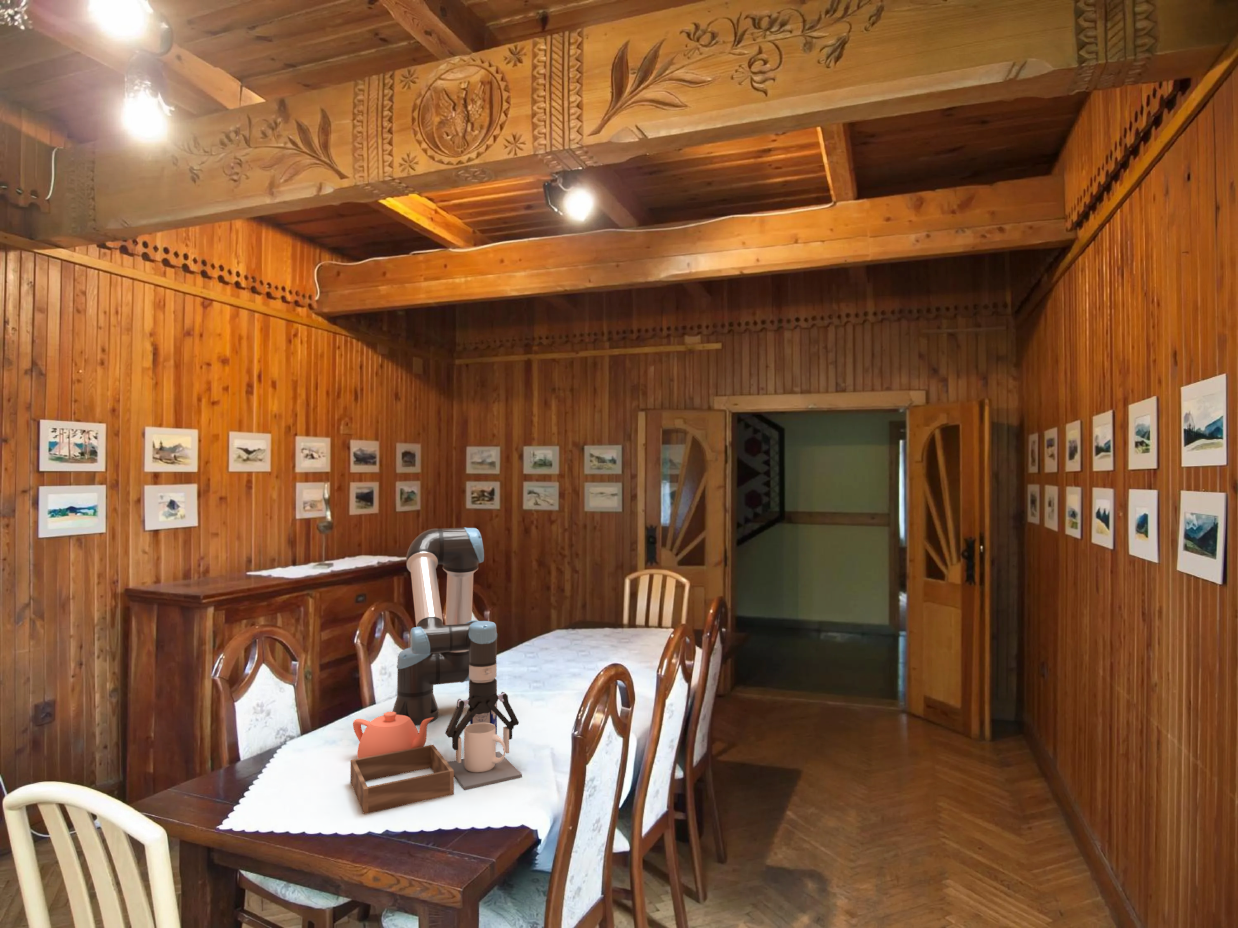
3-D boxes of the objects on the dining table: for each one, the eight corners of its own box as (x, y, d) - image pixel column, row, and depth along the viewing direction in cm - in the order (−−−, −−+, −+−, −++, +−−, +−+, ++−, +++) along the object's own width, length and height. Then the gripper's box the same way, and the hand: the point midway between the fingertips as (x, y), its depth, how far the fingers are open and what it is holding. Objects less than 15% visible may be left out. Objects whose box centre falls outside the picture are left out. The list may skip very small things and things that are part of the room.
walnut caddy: (350, 782, 190) (350, 759, 190) (433, 765, 201) (433, 744, 201) (363, 814, 173) (363, 789, 173) (453, 793, 184) (453, 770, 184)
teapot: (446, 752, 211) (446, 706, 211) (419, 775, 195) (419, 726, 195) (368, 745, 216) (369, 700, 216) (336, 768, 200) (336, 719, 200)
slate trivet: (444, 764, 202) (444, 762, 202) (499, 753, 209) (499, 751, 209) (464, 789, 186) (464, 786, 186) (522, 776, 194) (522, 773, 194)
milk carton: (475, 737, 222) (475, 673, 222) (497, 738, 222) (497, 673, 222) (469, 746, 215) (470, 679, 215) (492, 746, 215) (492, 679, 215)
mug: (497, 776, 192) (497, 736, 192) (458, 770, 196) (458, 731, 196) (512, 763, 200) (512, 725, 201) (473, 758, 204) (473, 720, 204)
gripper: (441, 689, 189) (441, 770, 188) (530, 675, 201) (530, 751, 201) (434, 681, 195) (433, 760, 195) (520, 669, 207) (520, 742, 207)
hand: (482, 756), depth 198 cm, fingers open, 13 cm apart
